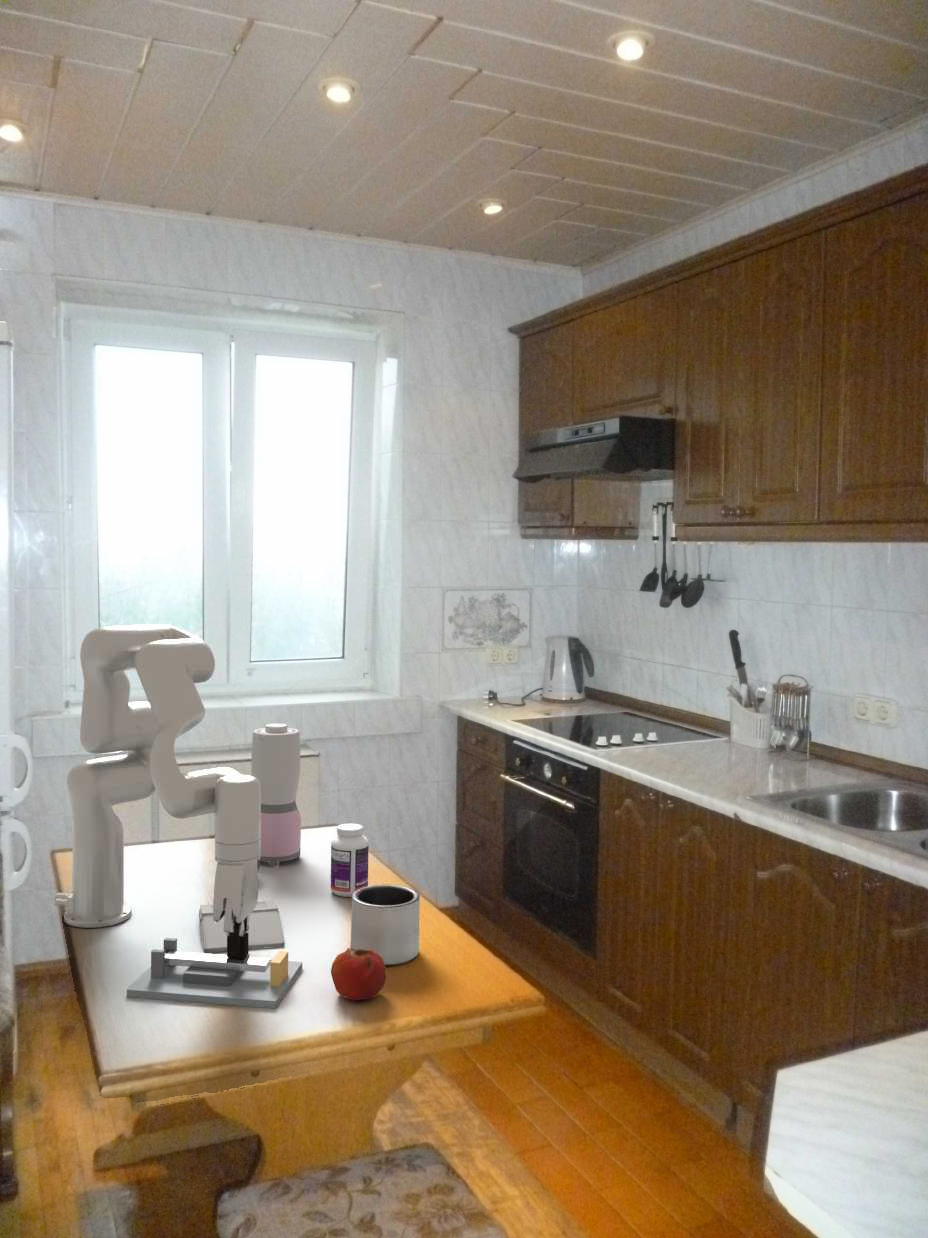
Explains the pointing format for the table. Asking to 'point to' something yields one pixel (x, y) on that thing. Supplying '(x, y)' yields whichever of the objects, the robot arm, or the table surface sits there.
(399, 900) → the planter
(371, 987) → the tomato
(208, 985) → the clamp base
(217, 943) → the gadget
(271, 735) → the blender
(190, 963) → the clamp bar
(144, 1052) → the table surface
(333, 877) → the pill bottle
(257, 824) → the robot arm
